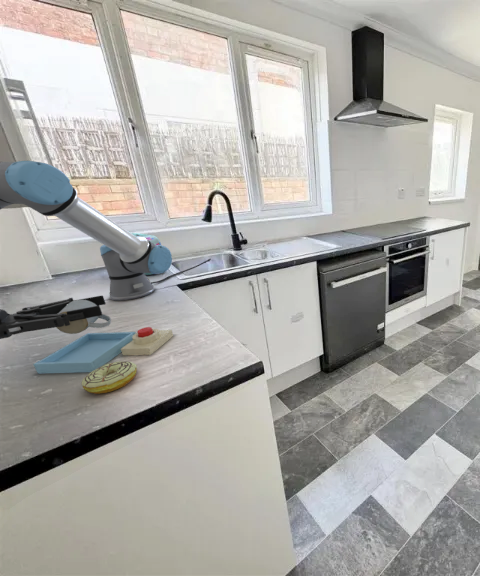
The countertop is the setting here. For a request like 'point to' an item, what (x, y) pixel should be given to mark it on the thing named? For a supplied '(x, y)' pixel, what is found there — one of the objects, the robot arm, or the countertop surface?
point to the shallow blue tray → (85, 353)
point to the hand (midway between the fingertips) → (102, 304)
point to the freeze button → (145, 332)
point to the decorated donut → (109, 377)
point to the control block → (147, 343)
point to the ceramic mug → (83, 323)
